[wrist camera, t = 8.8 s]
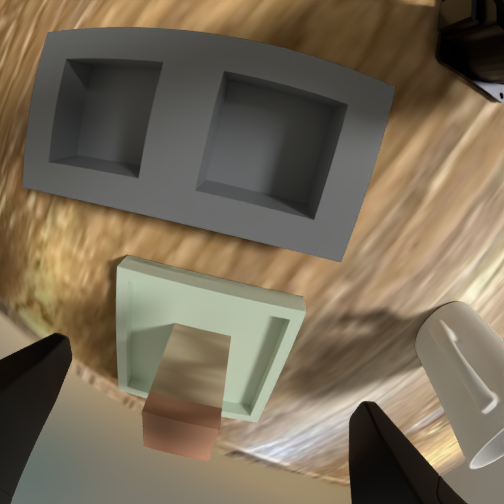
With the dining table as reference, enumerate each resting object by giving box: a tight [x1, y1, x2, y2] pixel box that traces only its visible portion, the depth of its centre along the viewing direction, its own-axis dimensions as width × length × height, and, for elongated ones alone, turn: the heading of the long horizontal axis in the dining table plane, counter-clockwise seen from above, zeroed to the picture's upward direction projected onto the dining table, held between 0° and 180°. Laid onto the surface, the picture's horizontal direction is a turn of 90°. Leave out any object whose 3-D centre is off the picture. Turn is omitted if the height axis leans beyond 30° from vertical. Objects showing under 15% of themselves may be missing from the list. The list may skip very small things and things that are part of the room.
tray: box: [116, 255, 306, 422], centre depth 21 cm, size 12×12×2 cm
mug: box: [415, 302, 504, 469], centre depth 16 cm, size 10×7×12 cm, turn 51°
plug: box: [142, 323, 231, 461], centre depth 18 cm, size 4×4×8 cm
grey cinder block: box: [23, 27, 396, 262], centre depth 14 cm, size 18×9×4 cm, turn 76°
